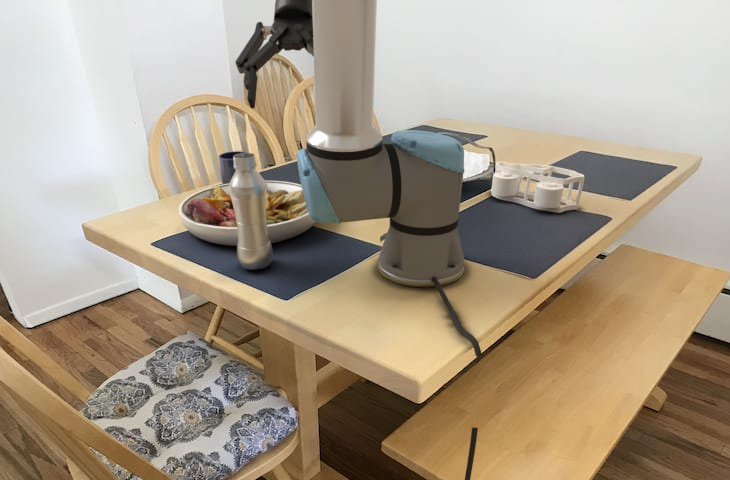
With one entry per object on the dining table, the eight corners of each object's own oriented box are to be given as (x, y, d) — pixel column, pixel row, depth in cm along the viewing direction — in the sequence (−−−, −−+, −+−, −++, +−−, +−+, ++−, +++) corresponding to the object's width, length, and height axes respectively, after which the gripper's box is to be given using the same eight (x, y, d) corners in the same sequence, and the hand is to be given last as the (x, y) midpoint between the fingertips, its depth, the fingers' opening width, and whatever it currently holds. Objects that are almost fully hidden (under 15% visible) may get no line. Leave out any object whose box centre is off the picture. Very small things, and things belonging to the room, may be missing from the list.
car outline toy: (479, 197, 130) (483, 166, 126) (506, 187, 136) (510, 157, 132) (557, 219, 117) (564, 185, 113) (582, 206, 124) (590, 174, 120)
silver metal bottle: (232, 272, 99) (216, 160, 88) (248, 256, 104) (235, 149, 94) (265, 276, 97) (253, 162, 87) (279, 260, 103) (270, 151, 92)
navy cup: (250, 196, 134) (246, 159, 130) (220, 196, 135) (215, 159, 130) (255, 186, 141) (252, 151, 136) (227, 187, 141) (222, 151, 136)
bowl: (258, 192, 137) (255, 160, 132) (350, 219, 120) (350, 183, 116) (154, 228, 118) (146, 192, 113) (246, 266, 101) (241, 225, 97)
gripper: (361, 18, 107) (356, 115, 102) (236, 20, 109) (226, 116, 105) (359, -14, 100) (355, 89, 95) (225, -11, 102) (214, 90, 97)
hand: (287, 103), depth 100 cm, fingers open, 13 cm apart
